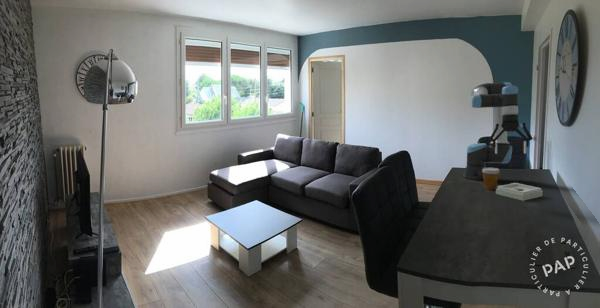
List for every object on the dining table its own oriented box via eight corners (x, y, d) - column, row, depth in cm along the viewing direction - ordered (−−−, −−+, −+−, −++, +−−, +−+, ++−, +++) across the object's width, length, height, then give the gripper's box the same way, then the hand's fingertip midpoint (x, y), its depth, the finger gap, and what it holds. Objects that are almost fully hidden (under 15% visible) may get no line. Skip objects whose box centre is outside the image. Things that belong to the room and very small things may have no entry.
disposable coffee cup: (494, 186, 217) (495, 167, 216) (501, 190, 208) (502, 170, 206) (478, 186, 218) (479, 167, 216) (485, 190, 209) (486, 170, 207)
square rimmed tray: (514, 189, 207) (514, 182, 206) (542, 196, 193) (542, 188, 192) (495, 193, 201) (496, 186, 200) (522, 200, 186) (523, 192, 186)
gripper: (484, 114, 192) (485, 153, 191) (538, 112, 182) (539, 153, 181) (483, 116, 199) (484, 153, 198) (535, 114, 189) (536, 153, 188)
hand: (510, 153), depth 189 cm, fingers open, 13 cm apart
